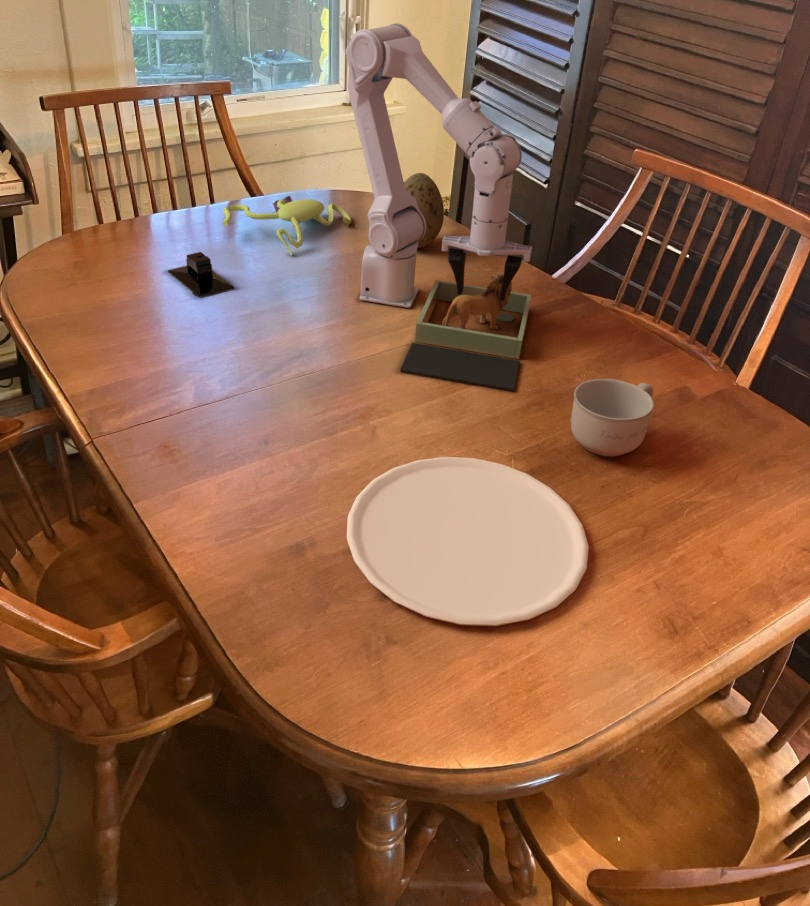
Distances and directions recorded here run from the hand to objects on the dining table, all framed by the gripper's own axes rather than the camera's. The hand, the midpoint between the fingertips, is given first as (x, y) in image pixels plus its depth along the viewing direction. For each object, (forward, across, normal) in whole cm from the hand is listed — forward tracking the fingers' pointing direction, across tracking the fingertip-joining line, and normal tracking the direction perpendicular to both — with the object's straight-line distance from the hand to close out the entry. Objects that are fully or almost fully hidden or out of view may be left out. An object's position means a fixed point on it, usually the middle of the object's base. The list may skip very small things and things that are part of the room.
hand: (481, 295), depth 136 cm
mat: (+6, -1, -14) cm, 16 cm away
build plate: (+5, -52, +1) cm, 52 cm away
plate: (+7, +6, -53) cm, 54 cm away
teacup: (+7, +23, -27) cm, 37 cm away
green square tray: (+6, -1, 0) cm, 6 cm away
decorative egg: (+6, -18, +31) cm, 36 cm away
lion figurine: (+6, -1, 0) cm, 6 cm away
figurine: (+5, -45, +29) cm, 53 cm away
